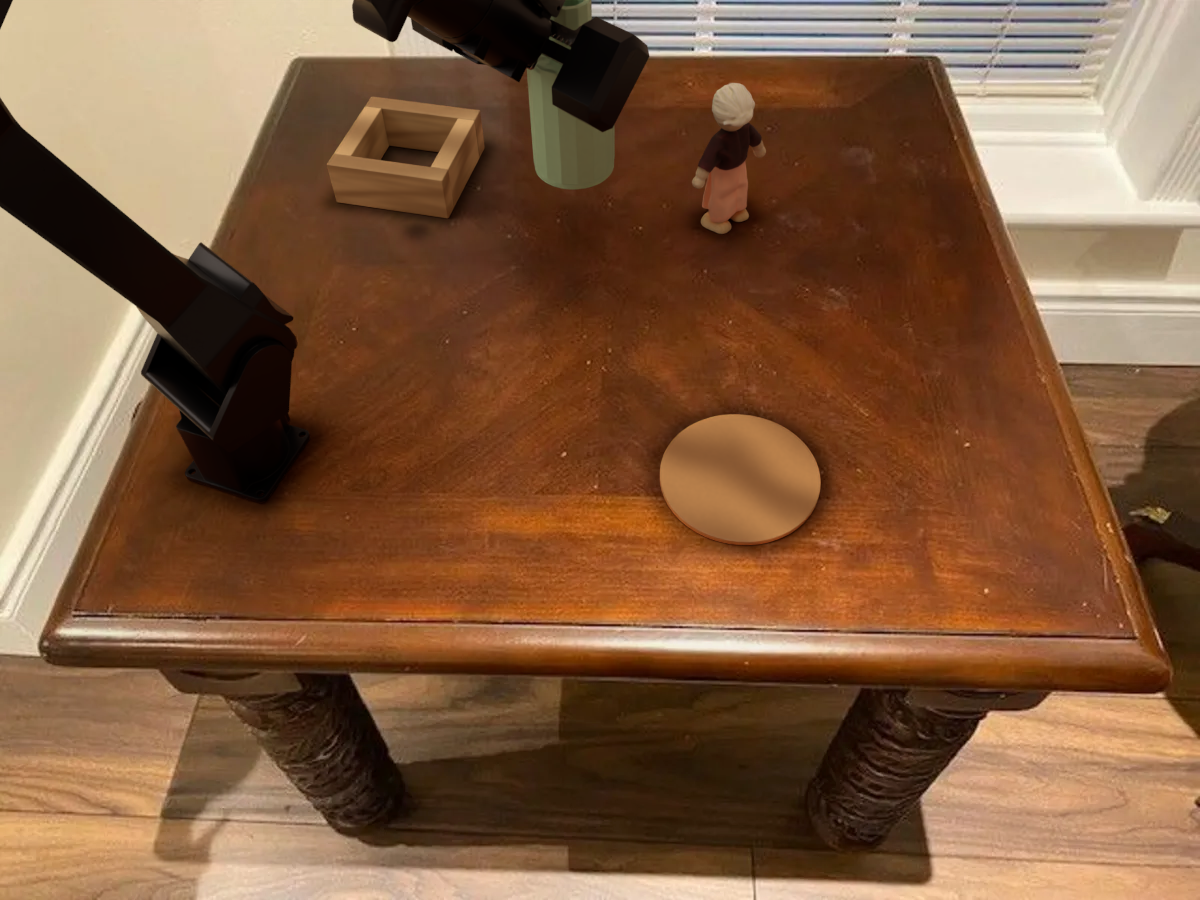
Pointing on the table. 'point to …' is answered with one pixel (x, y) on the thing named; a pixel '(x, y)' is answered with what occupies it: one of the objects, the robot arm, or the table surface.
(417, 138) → the holder
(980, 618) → the table surface
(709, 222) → the grandmother figurine
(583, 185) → the bottle
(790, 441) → the mat
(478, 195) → the table surface
